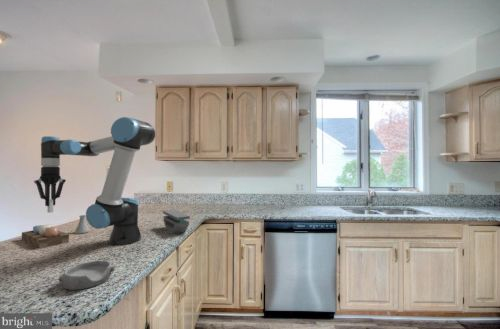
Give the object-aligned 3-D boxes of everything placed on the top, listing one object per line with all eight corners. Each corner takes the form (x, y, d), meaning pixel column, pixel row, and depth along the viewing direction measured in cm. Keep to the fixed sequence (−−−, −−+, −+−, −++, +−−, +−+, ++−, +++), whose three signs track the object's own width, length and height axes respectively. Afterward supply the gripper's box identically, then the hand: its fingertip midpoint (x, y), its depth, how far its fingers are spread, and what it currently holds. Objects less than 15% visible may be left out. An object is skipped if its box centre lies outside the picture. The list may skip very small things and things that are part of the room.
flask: (82, 234, 141) (82, 217, 141) (71, 233, 142) (72, 216, 142) (92, 231, 148) (92, 214, 148) (82, 230, 149) (83, 214, 150)
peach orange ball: (59, 237, 124) (59, 227, 124) (47, 239, 120) (47, 229, 120) (55, 235, 127) (55, 226, 127) (43, 238, 122) (43, 228, 123)
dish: (119, 274, 90) (119, 261, 90) (88, 293, 76) (89, 277, 76) (85, 271, 92) (85, 258, 92) (49, 289, 79) (49, 273, 79)
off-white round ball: (52, 234, 128) (53, 225, 128) (41, 237, 124) (41, 227, 124) (49, 233, 131) (49, 224, 131) (37, 235, 127) (37, 225, 127)
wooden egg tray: (68, 242, 126) (68, 234, 126) (39, 248, 116) (39, 240, 116) (49, 234, 139) (49, 227, 139) (21, 239, 129) (21, 232, 129)
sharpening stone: (189, 234, 145) (189, 216, 145) (176, 236, 140) (176, 217, 140) (174, 225, 164) (174, 209, 165) (162, 227, 160) (163, 210, 160)
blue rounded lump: (46, 235, 132) (46, 226, 133) (34, 237, 128) (35, 227, 128) (42, 233, 135) (43, 224, 135) (31, 235, 131) (31, 226, 131)
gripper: (62, 166, 133) (62, 209, 133) (31, 166, 122) (31, 213, 122) (68, 166, 129) (68, 210, 129) (37, 166, 118) (36, 214, 118)
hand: (50, 212), depth 125 cm, fingers closed
